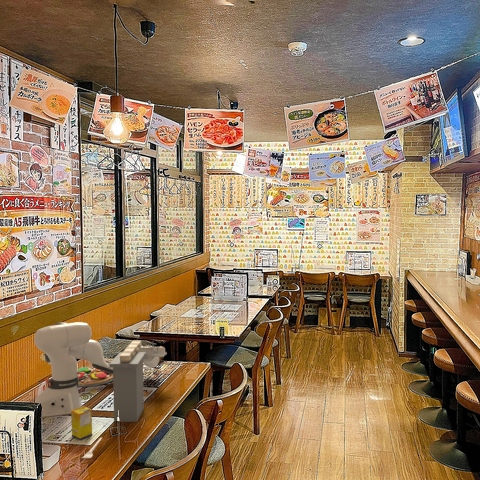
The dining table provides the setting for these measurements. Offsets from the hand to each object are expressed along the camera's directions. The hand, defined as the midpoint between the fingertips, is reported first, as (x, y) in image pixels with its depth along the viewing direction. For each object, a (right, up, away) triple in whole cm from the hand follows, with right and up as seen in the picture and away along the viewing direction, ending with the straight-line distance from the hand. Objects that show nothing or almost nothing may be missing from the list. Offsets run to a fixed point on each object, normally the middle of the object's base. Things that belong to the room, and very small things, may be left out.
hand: (142, 348), depth 257 cm
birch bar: (-1, +2, -24) cm, 24 cm away
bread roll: (-2, -20, +55) cm, 59 cm away
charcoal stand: (-1, -24, -28) cm, 37 cm away
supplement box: (-15, -26, -49) cm, 57 cm away
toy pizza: (-32, -22, +23) cm, 45 cm away
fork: (-8, -27, -60) cm, 66 cm away
